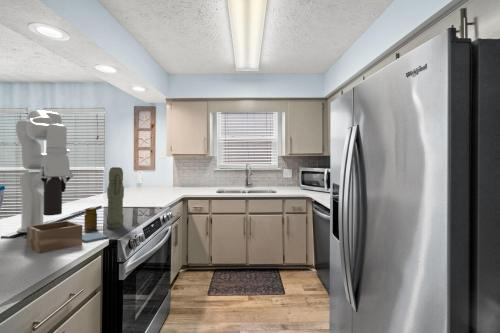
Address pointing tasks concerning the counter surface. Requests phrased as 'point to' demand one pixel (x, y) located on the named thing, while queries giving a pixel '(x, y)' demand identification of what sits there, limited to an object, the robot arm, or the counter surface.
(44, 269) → the counter surface
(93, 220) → the condiment
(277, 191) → the counter surface
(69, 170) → the robot arm
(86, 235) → the mat
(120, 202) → the thermos
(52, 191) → the vinegar
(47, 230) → the crate
